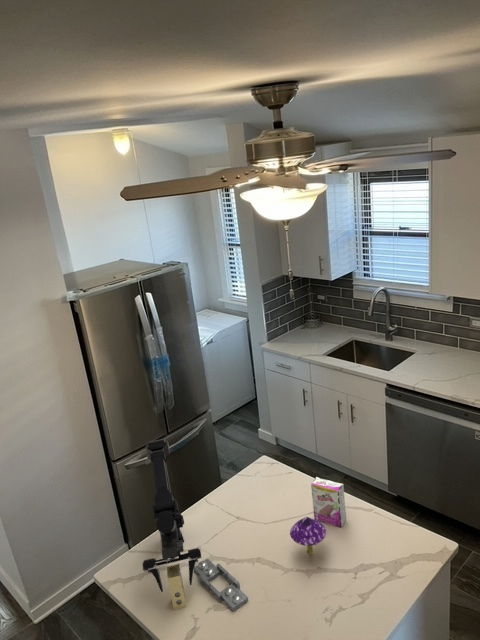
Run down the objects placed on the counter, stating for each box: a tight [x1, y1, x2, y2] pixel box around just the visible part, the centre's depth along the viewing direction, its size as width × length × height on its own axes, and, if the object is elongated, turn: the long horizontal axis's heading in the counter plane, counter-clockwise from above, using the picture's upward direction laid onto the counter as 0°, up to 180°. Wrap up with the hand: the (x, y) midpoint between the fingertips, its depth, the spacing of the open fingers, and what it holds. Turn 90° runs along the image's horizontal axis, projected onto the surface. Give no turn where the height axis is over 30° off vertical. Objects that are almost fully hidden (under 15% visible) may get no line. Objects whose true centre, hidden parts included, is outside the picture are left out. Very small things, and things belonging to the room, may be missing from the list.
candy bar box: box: [310, 476, 347, 528], centre depth 194 cm, size 11×5×16 cm, turn 58°
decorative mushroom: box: [289, 516, 327, 555], centre depth 179 cm, size 12×12×15 cm
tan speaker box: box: [166, 563, 187, 610], centre depth 167 cm, size 5×4×12 cm
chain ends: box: [193, 558, 249, 612], centre depth 173 cm, size 23×8×2 cm, turn 37°
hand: (176, 588), depth 165 cm, fingers open, 9 cm apart
